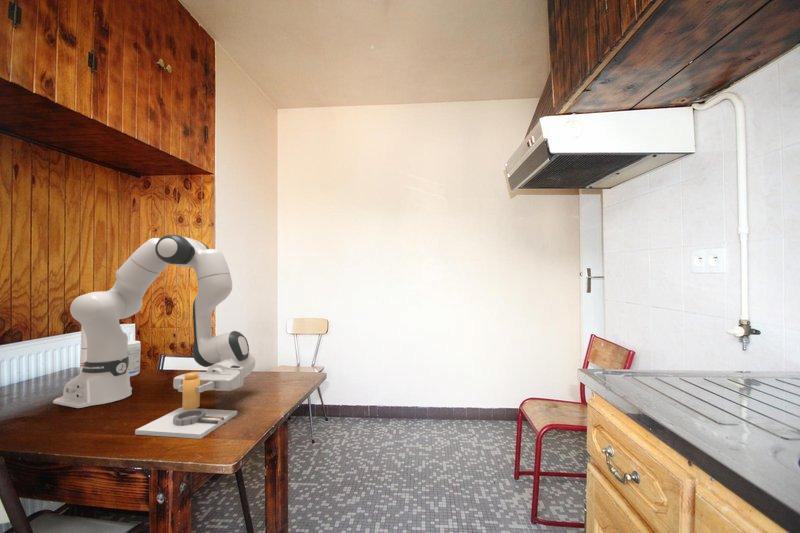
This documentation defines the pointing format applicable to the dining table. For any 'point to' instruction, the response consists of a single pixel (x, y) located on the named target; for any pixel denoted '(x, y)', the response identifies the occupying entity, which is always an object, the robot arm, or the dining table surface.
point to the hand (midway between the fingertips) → (189, 389)
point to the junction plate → (184, 430)
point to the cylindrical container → (83, 348)
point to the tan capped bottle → (191, 391)
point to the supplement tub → (134, 357)
